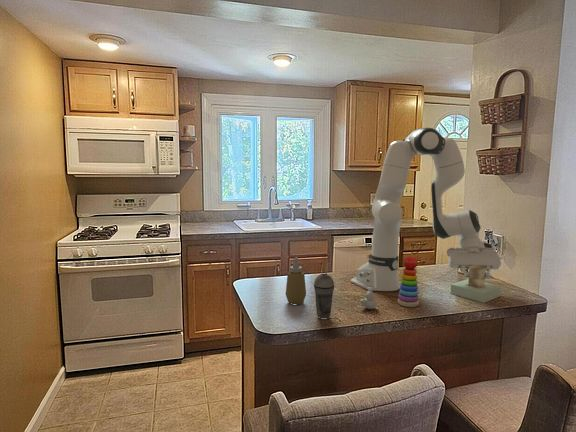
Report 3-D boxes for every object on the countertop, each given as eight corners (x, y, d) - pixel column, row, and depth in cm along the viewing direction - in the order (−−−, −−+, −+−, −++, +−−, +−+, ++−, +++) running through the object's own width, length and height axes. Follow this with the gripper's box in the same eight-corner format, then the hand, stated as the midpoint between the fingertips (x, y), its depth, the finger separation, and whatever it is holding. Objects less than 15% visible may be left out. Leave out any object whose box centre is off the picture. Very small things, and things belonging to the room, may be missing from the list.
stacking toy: (420, 308, 147) (422, 259, 145) (398, 307, 149) (400, 258, 146) (417, 301, 155) (419, 255, 152) (396, 300, 156) (398, 254, 154)
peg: (467, 289, 163) (469, 266, 162) (473, 287, 166) (474, 264, 165) (478, 292, 160) (480, 268, 158) (484, 290, 162) (485, 266, 161)
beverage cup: (314, 312, 143) (314, 258, 140) (334, 313, 142) (335, 259, 139) (312, 320, 135) (313, 264, 133) (333, 321, 134) (334, 264, 132)
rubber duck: (379, 310, 145) (380, 289, 144) (363, 312, 143) (363, 290, 142) (373, 305, 150) (374, 285, 149) (357, 306, 149) (357, 286, 148)
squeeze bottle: (291, 308, 147) (291, 261, 145) (281, 301, 154) (281, 256, 152) (310, 304, 151) (310, 258, 148) (299, 298, 158) (300, 254, 156)
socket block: (450, 293, 164) (451, 284, 164) (467, 287, 173) (468, 278, 172) (483, 302, 153) (484, 293, 153) (500, 295, 162) (501, 286, 161)
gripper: (447, 243, 169) (452, 272, 160) (498, 245, 166) (505, 273, 158) (444, 251, 174) (449, 279, 165) (493, 253, 171) (500, 281, 163)
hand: (477, 276), depth 162 cm, fingers closed on peg, 6 cm apart
